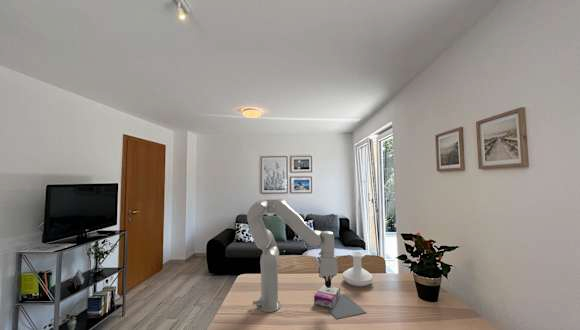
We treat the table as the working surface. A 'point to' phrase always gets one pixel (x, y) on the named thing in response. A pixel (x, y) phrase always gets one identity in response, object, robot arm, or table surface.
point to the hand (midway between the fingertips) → (328, 286)
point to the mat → (345, 308)
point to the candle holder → (357, 272)
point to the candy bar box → (327, 296)
